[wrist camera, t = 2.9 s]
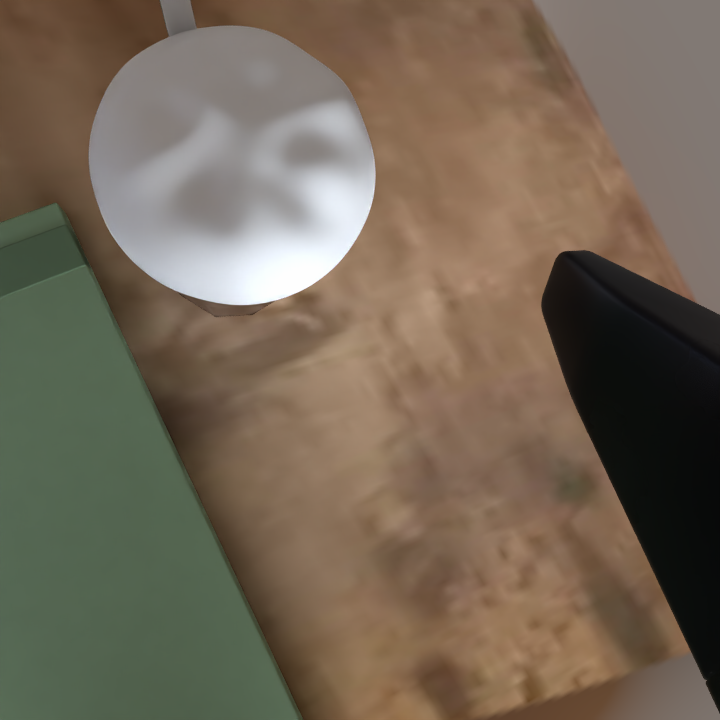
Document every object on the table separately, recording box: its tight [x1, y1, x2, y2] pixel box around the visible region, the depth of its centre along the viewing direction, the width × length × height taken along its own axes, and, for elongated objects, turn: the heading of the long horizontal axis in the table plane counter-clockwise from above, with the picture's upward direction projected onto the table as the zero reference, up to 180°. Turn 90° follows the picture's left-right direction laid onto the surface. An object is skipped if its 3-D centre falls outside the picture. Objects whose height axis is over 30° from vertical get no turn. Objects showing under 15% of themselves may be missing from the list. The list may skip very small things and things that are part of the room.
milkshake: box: [89, 0, 375, 317], centre depth 13 cm, size 4×5×10 cm
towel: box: [0, 203, 303, 720], centre depth 16 cm, size 20×9×1 cm, turn 25°
